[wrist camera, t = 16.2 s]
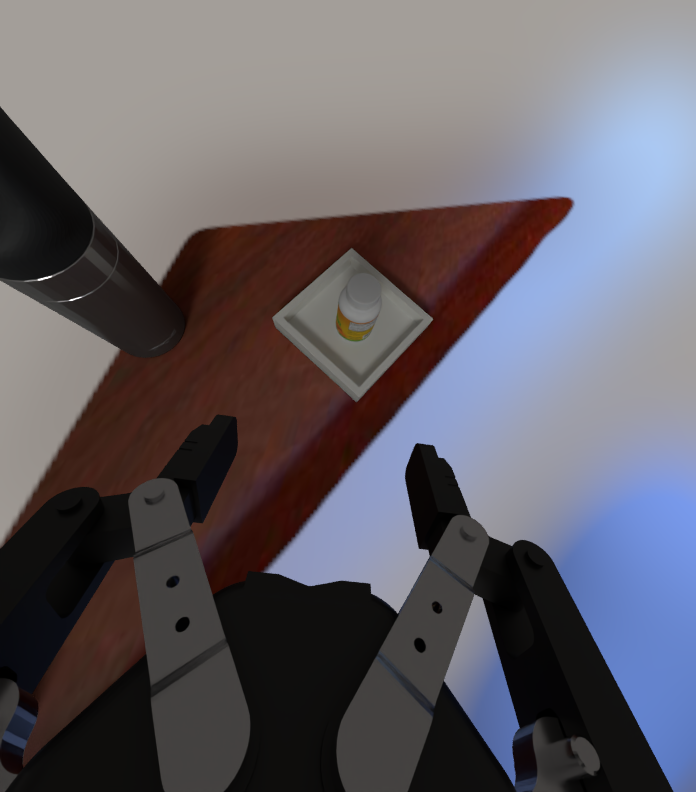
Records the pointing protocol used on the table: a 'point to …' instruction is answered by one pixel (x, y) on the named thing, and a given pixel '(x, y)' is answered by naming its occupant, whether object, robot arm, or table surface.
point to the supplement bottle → (358, 307)
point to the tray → (319, 340)
